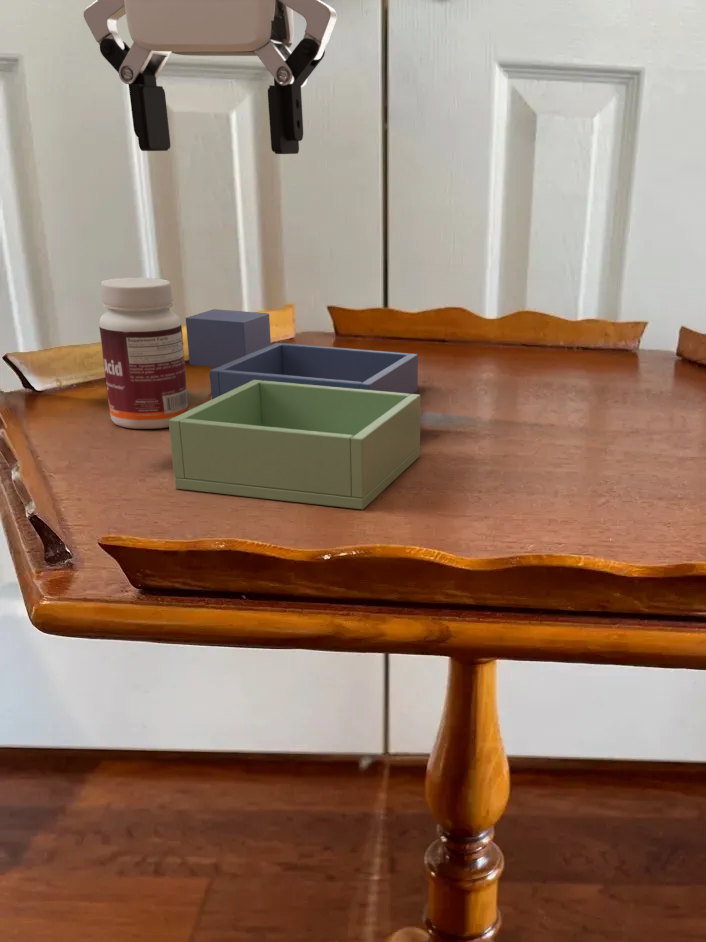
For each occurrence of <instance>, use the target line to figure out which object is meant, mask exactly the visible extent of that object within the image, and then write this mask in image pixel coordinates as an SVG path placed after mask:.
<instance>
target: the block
mask: <svg viewBox="0 0 706 942" xmlns="http://www.w3.org/2000/svg"><path fill="white" fill-rule="evenodd" d="M270 323H271V322H270V313H268V312H255V311H245V310H230V309H217V308H216V309H215V308H213V309H210V310H207V311H206V310H205V311H204V312H200V313H196V314H193V315H191V316H187V317H185V327H186V328H185V329H186V339H187V340H186V341H187V351H188V361H189V366H201V367H210V368H211V367H212V368H217V367H220V366H222V365H224V364H227V363H229V362H232V361H234V360H236V359H239V358H241V357H244V356H246V355H249V354H251V353H253V352H256V351H258V350H261V349H263V348H265V347H268V346H270V345H272V343H271V341H272V340H271V324H270Z"/></svg>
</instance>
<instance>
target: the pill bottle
mask: <svg viewBox="0 0 706 942" xmlns="http://www.w3.org/2000/svg"><path fill="white" fill-rule="evenodd" d="M100 289H101V290H100V291H101V301H102V305H103V307H104V308H106V309H107V311H106V312H105V313H103V314H102V315H101V316H100V319H99V322H98V327H99V335H100V342H101V352H102V359H103V369H104V376H105V384H106V385H105V386H106V393H107V397H108V398H107V400H108V407H109V415H110V420H111V421H112V422H113V423H114V424H115V425H117V426H119V427H121V428H126V429H135V430H156V429H157V430H158V429H167V428H169V420H170V419H172V418H174V417H176V416H178V415H180V414H182V413H185V412H187V411H189V410H190V409H189V399H188V389H187V379H186V378H187V377H186V364H185V351H184V340H183V337H184V336H183V328H182V322H181V319H180V317H179V316H178V314H176V313H174V312H172V311H171V309H170V308H172V307H173V306H174V303H173V301H174V298H173V291H172V290H173V289H172V283H171V282H170V281H169V280H166V279H164V278H163V279H162V278H156V277H133V276H132V277H116V278H115V277H114V278H109V279H104V280H102V281H101V282H100Z"/></svg>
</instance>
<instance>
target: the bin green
mask: <svg viewBox="0 0 706 942" xmlns="http://www.w3.org/2000/svg"><path fill="white" fill-rule="evenodd" d="M421 400H422V399H421V394H418V393H413V394H408V393H397V392H385V391H374V390H363V389H352V388H341V387H330V386H318V385H307V384H296V383H285V382H274V381H262V380H253V381H250V382H248V383H246V384H244V385H242V386H240V387H238V388H236V389H233V390H231V391H229V392H227V393H225V394H223V395H221V396H219V397H216V398H214V399H212V398H211V399H210V400H208V401H206V402H204V403H202V404H200V405H197V406H195V407H193V408H191V409H189V411H187V412H185V413H182V414H180V415H178V416H176V417H174V418H172V419H170V420H169V427H168V428H169V438H170V449H171V458H172V459H171V460H172V468H173V469H172V470H173V477H174V487H175V489H177V490H185V491H191V492H192V491H194V492H203V493H211V494H218V495H219V494H220V495H229V496H237V497H246V498H253V499H254V498H255V499H262V500H263V499H264V500H273V501H274V500H275V501H282V502H292V503H299V504H300V503H301V504H307V505H317V506H326V507H335V508H343V509H344V508H345V509H353V510H364V509H365V508H366V507H367V506H369V505H370V504H371V503H372V502H373V501H374V500H375V499H377V497H378V496H379V495H380V494H382V492H384V491H385V490H386V488H388V487H389V486H390V485H391V484H392V483H393V482H394V481H395V480H396V479H397V478H398V477H399V476H401V475H402V474H403V472H405V470H407V469H408V468H409V467H410V466H411V465H412V464H413V463H414V462H415V461H416V460H418V458H419V457H420V456H421Z"/></svg>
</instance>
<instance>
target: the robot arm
mask: <svg viewBox="0 0 706 942" xmlns="http://www.w3.org/2000/svg"><path fill="white" fill-rule="evenodd" d="M294 12H295V13H297V14H299V15H300V16H301V17H303V18H304V19H305V22H306V26H305V30H304V35H303V38H302V39H301V40H300V41H299V42H298V44H297V45H296V46H295V48H294V49H293V50H292V51H291V48H292V47H293V44H294V39H295V19H294ZM124 15H125V18H126V24H127V28H128V32H129V36H130V38H131V40H132V42H133V43H132V44H131V46H130V47H129V45H128V44H127V43H126V42H125V41H123V39H122V38H121V35H120V32H119V30H118V27H117V23H118V20H120V19H121V18H122V17H123V16H124ZM83 19H84V20H85V23H86V25H87V26H88V28H89V30H90V32H91V34H92V36H93V38H94V39H95V42H96V43H98V45H99V51H100V54H101V55H102V57H103V58H104V59H105V60H106V61H107V62H108V63H109V64H110V65H111V67H112V68H113V69H114V70H115V71H116V72H117V73H118V76H119V79H120V81H121V82H122V83H123V84H125V85H128V93H129V100H130V108H131V118H132V127H133V132H134V134H135V136H136V137H137V140H138V147H139V149H140V150H141V151H142V152H167V151H168V150H169V149H171V137H170V136H171V135H170V127H169V126H170V125H169V118H168V107H167V98H166V92H165V89H164V86H162V85H158V84H157V80H158V78H159V76H160V74H161V72H162V71H163V69H164V67H165V65H166V63H168V60H169V58H170V57H171V55H172V54H174V55H177V56H189V57H191V56H192V57H194V56H195V57H196V56H197V57H258V59H259V60H260V61H261V63H262V64H263V65H264V67H265V68H266V69H267V71H268V72H269V74H270V75H271V76H272V77H273V85H271V84H269V86H268V88H267V101H268V102H267V104H268V117H269V133H270V135H269V136H270V148H271V151H272V152H273V153H274V154H275V155H297V154H299V152H300V142H301V141H303V139H304V119H303V118H304V117H303V101H302V99H303V98H302V88H303V87H305V86H306V85H307V83H308V79H309V76H311V75H312V73H313V72H314V71H315V70H316V68H317V67H318V65H319V64H320V62H321V61H322V60H323V59H324V57H325V54H326V47H327V44H329V41H330V38H331V36H332V33H333V30H334V29H335V28H334V27H335V25H336V24H337V19H338V14H337V11H336V10H335V9H334V8H333V7H332V6H330V5H329V4H327V3H325V2H324V1H322V0H94V1H93V2H92V3H90V4H89V5H88V6H86V7H85V9H84V10H83Z"/></svg>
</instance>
